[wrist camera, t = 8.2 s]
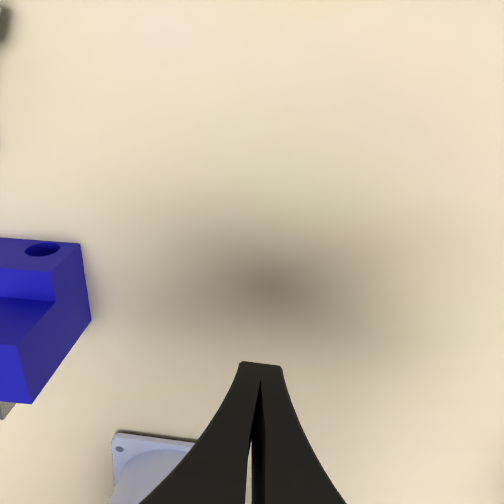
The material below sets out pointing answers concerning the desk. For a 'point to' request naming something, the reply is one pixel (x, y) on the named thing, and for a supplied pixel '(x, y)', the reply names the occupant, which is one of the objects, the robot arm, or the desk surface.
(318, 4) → the desk surface
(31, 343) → the cable clip
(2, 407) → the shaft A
